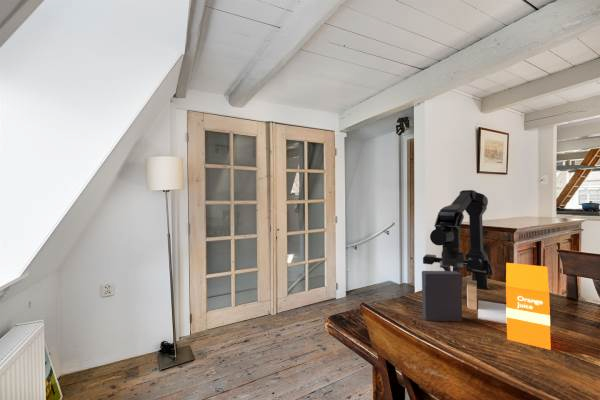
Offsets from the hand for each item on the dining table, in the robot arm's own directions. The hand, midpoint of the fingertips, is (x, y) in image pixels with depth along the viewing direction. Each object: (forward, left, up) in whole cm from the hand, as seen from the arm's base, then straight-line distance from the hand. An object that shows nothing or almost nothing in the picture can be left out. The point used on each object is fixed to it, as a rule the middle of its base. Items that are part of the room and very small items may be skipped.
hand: (451, 284), depth 102 cm
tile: (0, +6, -7) cm, 9 cm away
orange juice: (+20, +19, -7) cm, 29 cm away
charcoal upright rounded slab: (+18, -2, -7) cm, 19 cm away
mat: (+3, +16, -6) cm, 18 cm away
